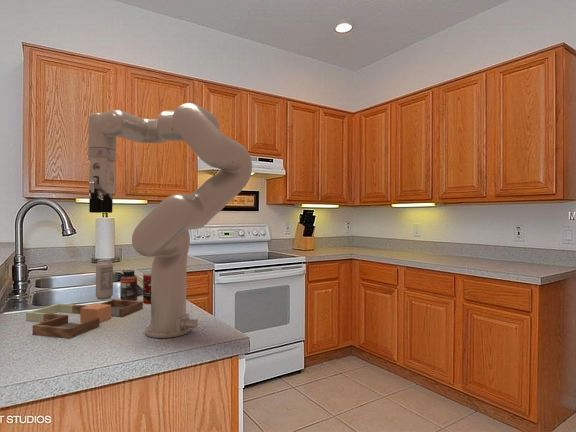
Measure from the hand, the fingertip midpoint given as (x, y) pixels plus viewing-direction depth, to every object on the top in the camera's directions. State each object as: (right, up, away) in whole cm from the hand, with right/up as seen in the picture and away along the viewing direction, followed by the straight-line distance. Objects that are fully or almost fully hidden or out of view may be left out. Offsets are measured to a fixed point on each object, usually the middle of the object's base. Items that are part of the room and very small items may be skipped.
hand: (101, 212), depth 110 cm
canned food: (+5, -34, +29) cm, 45 cm away
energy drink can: (-16, -34, +34) cm, 50 cm away
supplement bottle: (-5, -34, +31) cm, 46 cm away
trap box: (-10, -33, +6) cm, 35 cm away
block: (-4, -34, +4) cm, 34 cm away
